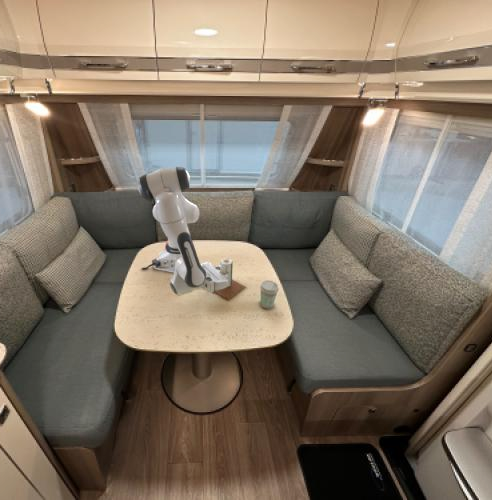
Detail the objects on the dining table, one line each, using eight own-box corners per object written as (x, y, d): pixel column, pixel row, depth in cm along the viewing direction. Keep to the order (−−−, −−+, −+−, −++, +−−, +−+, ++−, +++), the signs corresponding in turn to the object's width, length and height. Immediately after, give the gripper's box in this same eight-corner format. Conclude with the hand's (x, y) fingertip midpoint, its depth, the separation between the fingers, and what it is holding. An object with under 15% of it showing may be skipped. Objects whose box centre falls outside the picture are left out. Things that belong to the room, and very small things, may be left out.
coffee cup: (264, 313, 125) (267, 293, 119) (254, 301, 132) (256, 282, 126) (279, 307, 128) (282, 288, 122) (269, 297, 135) (271, 278, 129)
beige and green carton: (219, 286, 140) (219, 263, 133) (220, 279, 145) (221, 257, 138) (231, 287, 139) (232, 264, 132) (232, 280, 144) (233, 258, 137)
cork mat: (202, 285, 144) (202, 284, 143) (219, 274, 152) (219, 273, 152) (228, 300, 133) (228, 299, 132) (245, 287, 142) (245, 286, 141)
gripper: (192, 273, 141) (214, 266, 147) (212, 295, 126) (236, 285, 132) (192, 263, 138) (215, 256, 144) (212, 284, 123) (237, 275, 129)
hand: (225, 270), depth 138 cm, fingers closed on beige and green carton, 6 cm apart
